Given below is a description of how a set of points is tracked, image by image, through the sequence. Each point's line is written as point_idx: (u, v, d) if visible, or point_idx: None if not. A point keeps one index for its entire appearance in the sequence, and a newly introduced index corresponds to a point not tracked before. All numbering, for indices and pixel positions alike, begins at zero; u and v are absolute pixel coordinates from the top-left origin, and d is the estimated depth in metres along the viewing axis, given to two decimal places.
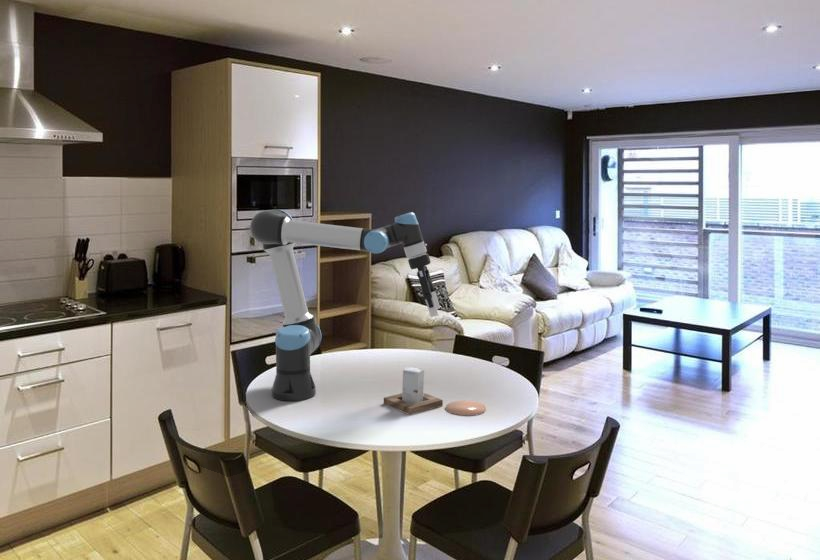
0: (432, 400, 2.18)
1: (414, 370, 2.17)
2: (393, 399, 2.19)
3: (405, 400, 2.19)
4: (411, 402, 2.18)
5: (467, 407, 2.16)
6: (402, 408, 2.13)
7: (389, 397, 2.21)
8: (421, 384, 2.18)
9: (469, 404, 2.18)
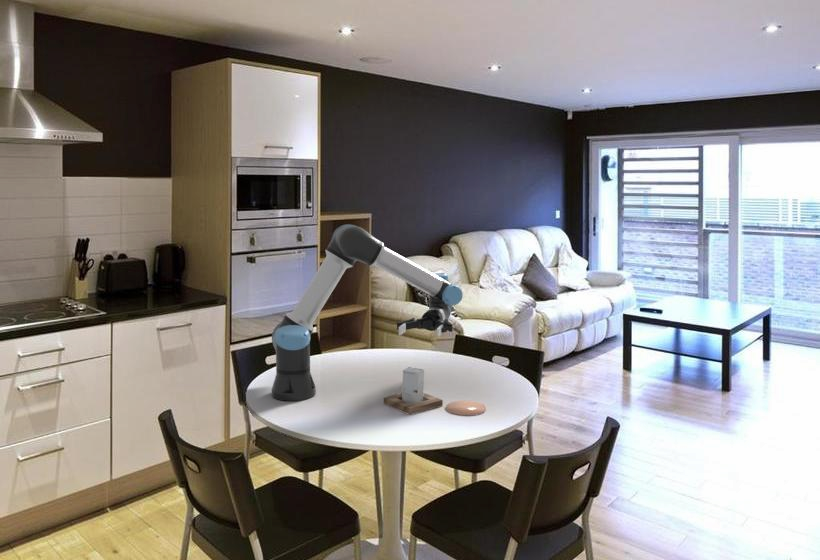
0: (432, 400, 2.18)
1: (414, 370, 2.17)
2: (393, 399, 2.19)
3: (405, 400, 2.19)
4: (411, 402, 2.18)
5: (467, 407, 2.16)
6: (402, 408, 2.13)
7: (389, 397, 2.21)
8: (421, 384, 2.18)
9: (469, 404, 2.18)
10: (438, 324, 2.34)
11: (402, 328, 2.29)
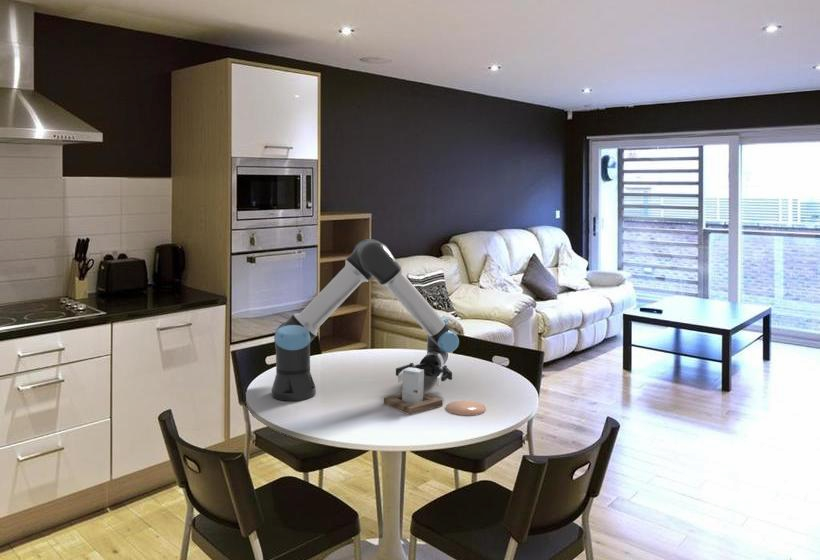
0: (432, 400, 2.18)
1: (414, 370, 2.17)
2: (393, 399, 2.19)
3: (405, 400, 2.19)
4: (411, 402, 2.18)
5: (467, 407, 2.16)
6: (402, 408, 2.13)
7: (389, 397, 2.21)
8: (421, 384, 2.18)
9: (469, 404, 2.18)
10: (437, 371, 2.33)
11: (402, 375, 2.28)
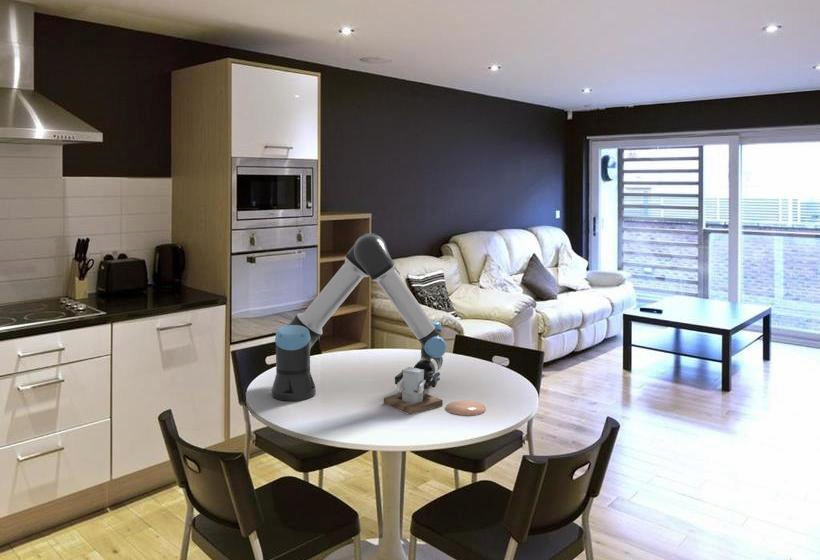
0: (432, 400, 2.18)
1: (414, 370, 2.17)
2: (393, 399, 2.19)
3: (405, 400, 2.19)
4: (411, 402, 2.18)
5: (467, 407, 2.16)
6: (402, 408, 2.13)
7: (389, 397, 2.21)
8: None
9: (469, 404, 2.18)
10: (424, 378, 2.24)
11: (401, 384, 2.17)
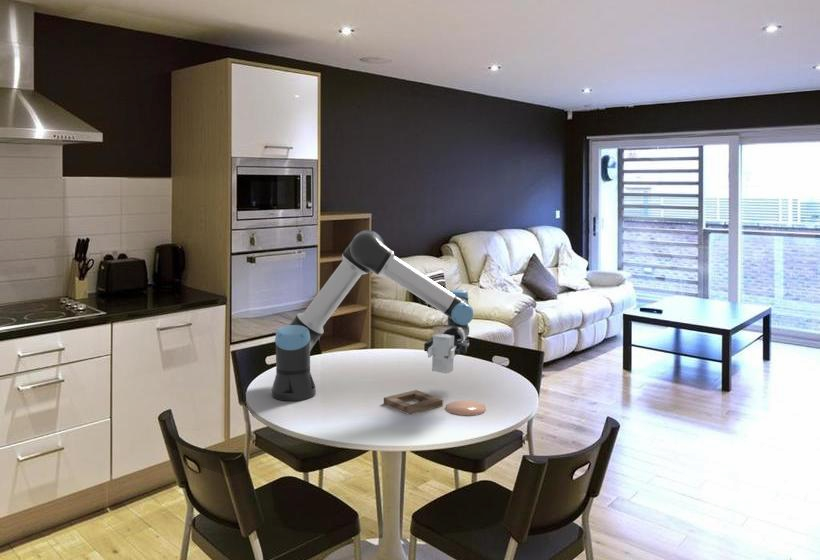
0: (432, 400, 2.18)
1: (444, 336, 2.14)
2: (393, 399, 2.19)
3: (435, 366, 2.15)
4: (441, 368, 2.14)
5: (467, 407, 2.16)
6: (402, 408, 2.13)
7: (389, 397, 2.21)
8: None
9: (469, 404, 2.18)
10: (454, 344, 2.21)
11: (431, 350, 2.14)
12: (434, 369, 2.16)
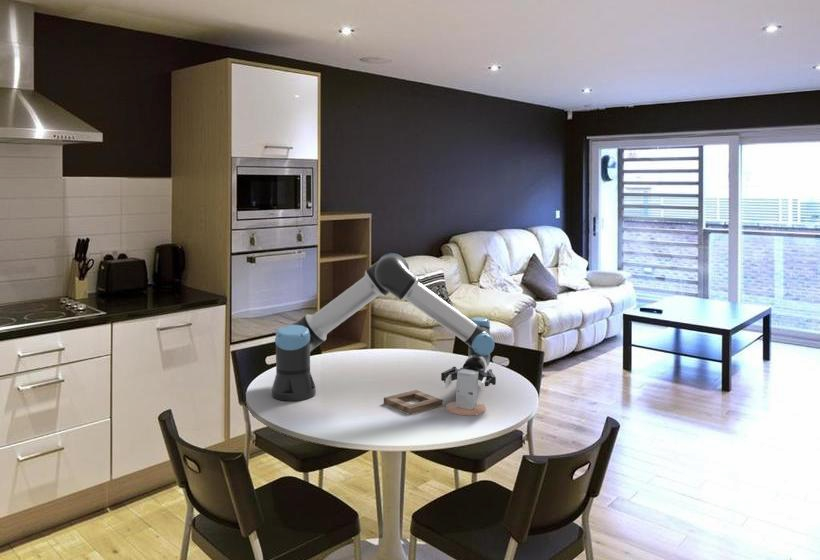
0: (432, 400, 2.18)
1: (469, 372, 2.13)
2: (393, 399, 2.19)
3: (459, 402, 2.15)
4: (466, 404, 2.13)
5: None
6: (402, 408, 2.13)
7: (389, 397, 2.21)
8: (476, 386, 2.14)
9: None
10: (481, 375, 2.20)
11: (449, 380, 2.14)
12: (458, 405, 2.15)
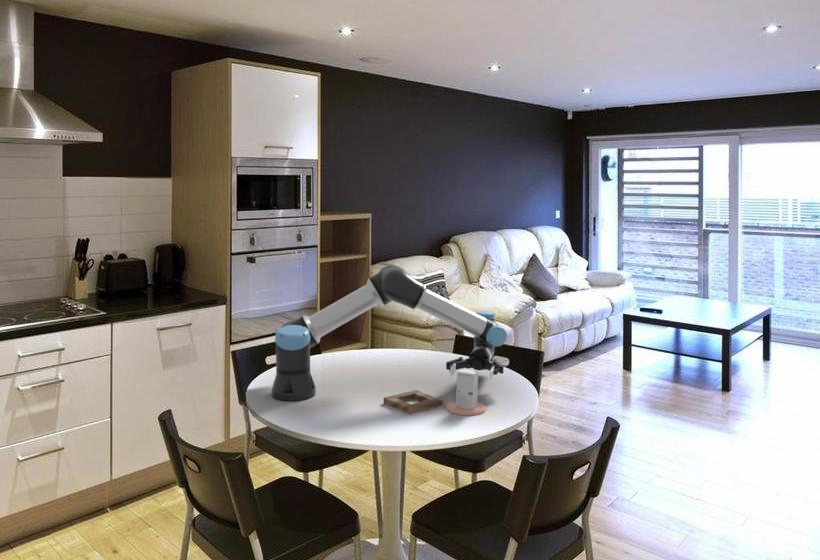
0: (432, 400, 2.18)
1: (469, 372, 2.13)
2: (393, 399, 2.19)
3: (459, 402, 2.15)
4: (466, 404, 2.13)
5: None
6: (402, 408, 2.13)
7: (389, 397, 2.21)
8: (476, 386, 2.14)
9: None
10: (488, 365, 2.32)
11: (453, 369, 2.28)
12: (458, 405, 2.15)
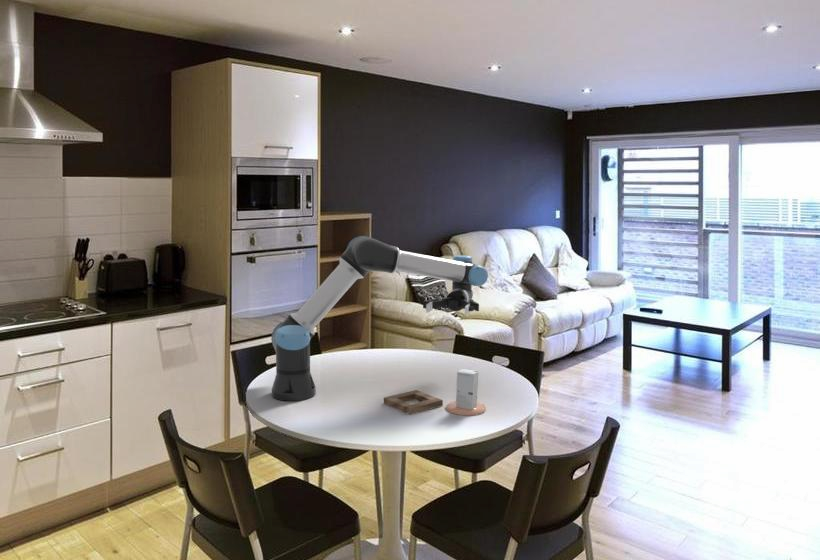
0: (432, 400, 2.18)
1: (469, 372, 2.13)
2: (393, 399, 2.19)
3: (459, 402, 2.15)
4: (466, 404, 2.13)
5: None
6: (402, 408, 2.13)
7: (389, 397, 2.21)
8: (476, 386, 2.14)
9: None
10: (464, 303, 2.36)
11: (429, 306, 2.31)
12: (458, 405, 2.15)
